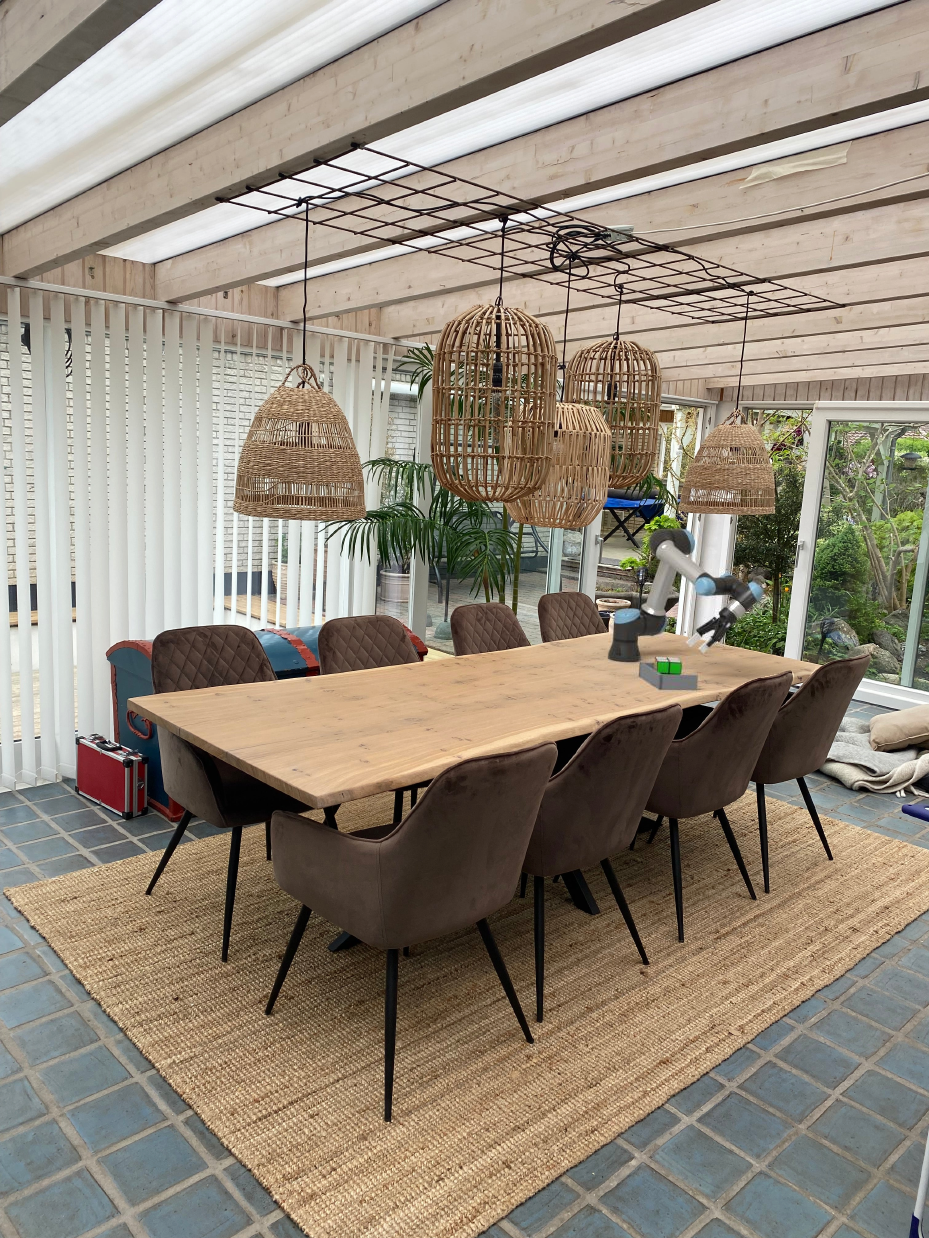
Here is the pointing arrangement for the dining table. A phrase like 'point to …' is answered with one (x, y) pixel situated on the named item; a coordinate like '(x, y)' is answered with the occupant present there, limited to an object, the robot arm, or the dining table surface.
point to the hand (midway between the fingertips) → (694, 648)
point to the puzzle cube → (668, 666)
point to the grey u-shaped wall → (667, 679)
